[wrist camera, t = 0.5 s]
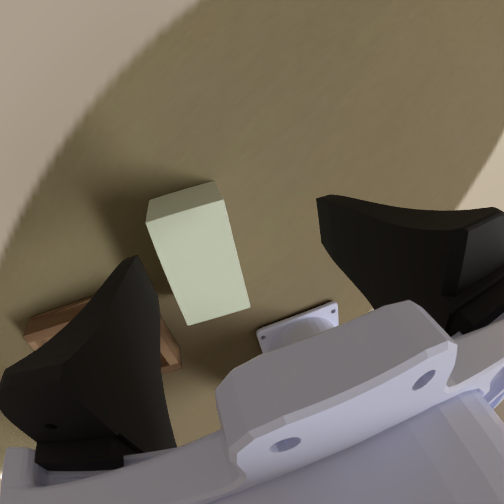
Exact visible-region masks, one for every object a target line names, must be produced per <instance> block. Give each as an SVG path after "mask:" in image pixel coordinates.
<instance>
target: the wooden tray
mask: <svg viewBox="0 0 504 504" xmlns="http://www.w3.org/2000/svg"><path fill="white" fill-rule="evenodd" d="M92 297H93V296H91V297H88V298H86V299H83V300H80V301H77V302H74V303H71V304H68V305H65V306H63V307H60V308H57V309H54V310H51V311H48V312H45V313H43V314H40V315H37V316H34V317H31V318H30V320H29V322H28V324H27V327H26V329H25V332H24V334H23V337H24V339H25V340H26V341H27V342H28V344H29V345H30V346H31V347H32V348H33V350H34V351H35V350H37V349H38V348H39V347H41V346H42V345H43V344H45V343H46V342H47V341H49V340H50V339H51V338H52V337H53V336H54V335H56V334H57V333H58V332H59V331H60V330H61V329H62V328H64V327H65V326H66V325H67V324H68V323H69V322H70V321H71V320H72V319H73V318H74V317H75V316H76V315H77V314H78V313H79V312H80V311H81V310H82V309H83V308H84V307H85V305H86V304H87V303H88V302H89V301H90V299H91V298H92ZM160 363H161V374H163V373H167V372H171V371H174V370H178V369H182V363H181V355H180V348H179V346H178V345H177V343H176V341H175V340H174V338H173V336H172V334H171V333H170V331H169V329H168V328H167V326H166V324H165V322H164V321H163V319H162V317H161V315H160Z"/></svg>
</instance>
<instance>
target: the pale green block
mask: <svg viewBox="0 0 504 504" xmlns="http://www.w3.org/2000/svg"><path fill="white" fill-rule="evenodd" d="M145 223H146V226H147V228H148V231H149V234H150V236H151V239H152V242H153V244H154V247H155V249H156V252H157V254H158V257H159V260H160V262H161V265H162V267H163V269H164V272H165V274H166V277H167V279H168V282H169V284H170V286H171V289H172V291H173V293H174V296H175V298H176V300H177V303H178V305H179V307H180V309H181V312H182V314H183V316H184V318H185V321H186V323H187V325H188V326H189V325H193V324H196V323H200V322H203V321H207V320H210V319H213V318H217V317H220V316H224V315H227V314H230V313H234V312H237V311H240V310H243V309H247V308H250V303H249V299H248V295H247V291H246V287H245V283H244V279H243V275H242V271H241V267H240V263H239V259H238V255H237V251H236V247H235V243H234V239H233V235H232V231H231V227H230V223H229V219H228V215H227V211H226V207H225V203H224V199H223V197H222V195H221V193H220V191H219V189H218V187H217V185H216V183H215V181H211V182H207V183H204V184H200V185H197V186H193V187H190V188H186V189H183V190H180V191H176V192H173V193H170V194H167V195H163V196H160V197H157V198H154V199H151V200H149V205H148V210H147V216H146V222H145Z"/></svg>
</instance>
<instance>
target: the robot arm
mask: <svg viewBox="0 0 504 504" xmlns="http://www.w3.org/2000/svg"><path fill="white" fill-rule="evenodd" d="M316 201H317V209H318V217H319V225H320V234H321V243H322V244H323V246H324V247H325V249H326V251H327V252H328V254H329V255H330V257H331V258H332V259H333V261H334V262H335V263H336V264H337V265H338V266H339V268H340V269H341V270H342V271H343V272H344V273H345V274H346V275H347V277H348V278H349V279H350V280H351V281H352V282H353V283H354V284H355V286H356V287H357V288H358V289H359V290H360V291H361V292H362V293H363V295H364V296H365V297H366V298H367V300H368V301H369V302H370V304H371V305H372V307H373V308H374V310H373V311H371V312H369V313H367V314H364V315H362V316H360V317H357V318H355V319H353V320H350V321H348V322H346V323H343V324H341V325H339V323H338V305H337V303H336V302H335V301H332V302H329V303H326V304H324V305H321V306H319V307H316V308H314V309H311V310H308V311H306V312H303V313H301V314H298V315H295V316H293V317H290V318H287V319H284V320H282V321H279V322H276V323H273V324H271V325H268V326H265V327H262V328H260V329H258V330H257V331H256V335H257V338H258V341H259V344H260V347H261V350H262V353H263V354H261V355H259V356H257V357H255V358H253V359H251V360H249V361H247V362H245V363H243V364H241V365H240V366H238V367H236V368H234V369H232V370H231V371H230V372H229V374H228V375H227V376H226V377H225V378H224V380H223V381H222V382H221V383H220V385H219V386H218V387H217V388H216V389H215V395H216V406H217V411H218V415H219V420H220V424H221V429H220V430H218V431H216V432H213V433H211V434H209V435H207V436H204V437H202V438H200V439H198V440H195V441H193V442H190V443H188V444H186V445H183V446H181V447H177V445H176V442H175V439H174V435H173V431H172V427H171V423H170V419H169V415H168V410H167V405H166V400H165V395H164V388H163V382H162V375H161V363H160V309H159V302H158V296H157V294H156V292H155V290H154V288H153V286H152V283H151V281H150V279H149V277H148V275H147V273H146V271H145V269H144V267H143V265H142V262H141V260H140V258H139V256H138V255H136V256H133V257H130V258H127V259H125V260H123V261H122V262H121V263H120V264H119V265H118V266H117V267H116V269H115V270H114V271H113V272H112V274H111V275H110V276H109V277H108V279H107V280H106V281H105V282H104V284H103V285H102V286H101V287H100V289H99V290H98V291H97V292H96V293H95V295H94V296H93V297H92V298H91V299H90V301H89V302H88V303H87V304H86V305H85V307H84V308H83V309H82V310H81V311H80V312H79V313H78V314H77V315H76V316H75V317H74V318H73V319H72V320H71V321H70V322H69V323H68V324H67V325H66V326H65V327H64V328H62V329H61V330H60V331H59V332H58V333H57V334H56V335H54V336H53V337H52V338H51V339H50V340H49V341H47V342H46V343H45V344H43V345H42V346H41V347H39V348H38V349H37V350H35V351H34V352H33V353H31V354H30V355H28V356H27V357H25V358H23V359H22V360H20V361H18V362H17V363H15V364H14V365H12V366H10V367H9V368H7V369H5V371H4V373H3V376H2V379H1V382H0V410H1V411H2V413H3V414H4V416H6V417H7V418H8V419H9V420H10V421H11V422H12V423H13V424H14V425H15V426H17V427H18V428H19V429H20V430H22V431H23V432H24V433H25V434H27V435H28V436H29V437H31V438H32V439H33V440H35V441H36V442H37V446H36V450H33V449H31V448H26V447H7V448H6V453H5V459H4V466H3V474H2V483H1V493H0V504H504V423H503V422H502V421H501V419H500V418H499V417H498V415H497V414H496V413H495V411H494V410H493V409H494V408H495V407H496V406H497V405H498V404H499V403H500V402H501V401H502V400H503V399H504V212H503V211H501V210H499V209H497V208H494V207H489V208H480V209H472V210H456V211H435V210H417V209H408V208H400V207H394V206H388V205H383V204H378V203H373V202H368V201H364V200H359V199H355V198H350V197H345V196H340V195H327V196H323V197H320V198H316ZM262 336H263V337H262Z"/></svg>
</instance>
